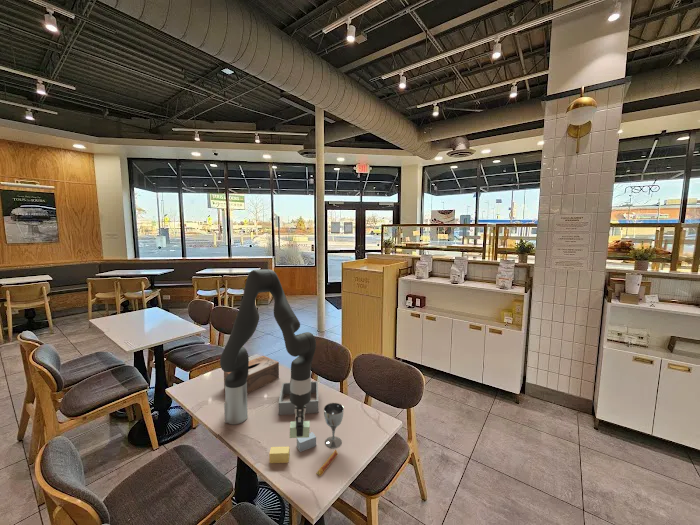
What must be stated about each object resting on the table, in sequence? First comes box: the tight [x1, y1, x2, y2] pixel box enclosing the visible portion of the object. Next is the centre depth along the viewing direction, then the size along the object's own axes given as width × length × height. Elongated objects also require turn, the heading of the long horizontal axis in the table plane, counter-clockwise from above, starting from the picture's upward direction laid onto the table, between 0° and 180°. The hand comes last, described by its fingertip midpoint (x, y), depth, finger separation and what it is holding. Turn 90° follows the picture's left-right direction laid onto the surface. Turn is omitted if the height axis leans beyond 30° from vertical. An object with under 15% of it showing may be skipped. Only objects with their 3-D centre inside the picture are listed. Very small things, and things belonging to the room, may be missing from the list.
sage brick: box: [289, 420, 311, 439], centre depth 110 cm, size 7×4×4 cm, turn 97°
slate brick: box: [296, 431, 317, 453], centre depth 122 cm, size 7×4×4 cm, turn 121°
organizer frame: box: [278, 380, 319, 416], centre depth 152 cm, size 19×19×6 cm
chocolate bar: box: [315, 449, 339, 477], centre depth 113 cm, size 3×12×2 cm, turn 151°
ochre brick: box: [268, 446, 291, 464], centre depth 115 cm, size 7×4×4 cm, turn 94°
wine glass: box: [323, 402, 345, 450], centre depth 124 cm, size 8×8×15 cm
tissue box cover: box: [223, 355, 280, 395], centre depth 170 cm, size 26×14×10 cm, turn 143°
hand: (299, 431), depth 111 cm, fingers closed on sage brick, 3 cm apart
